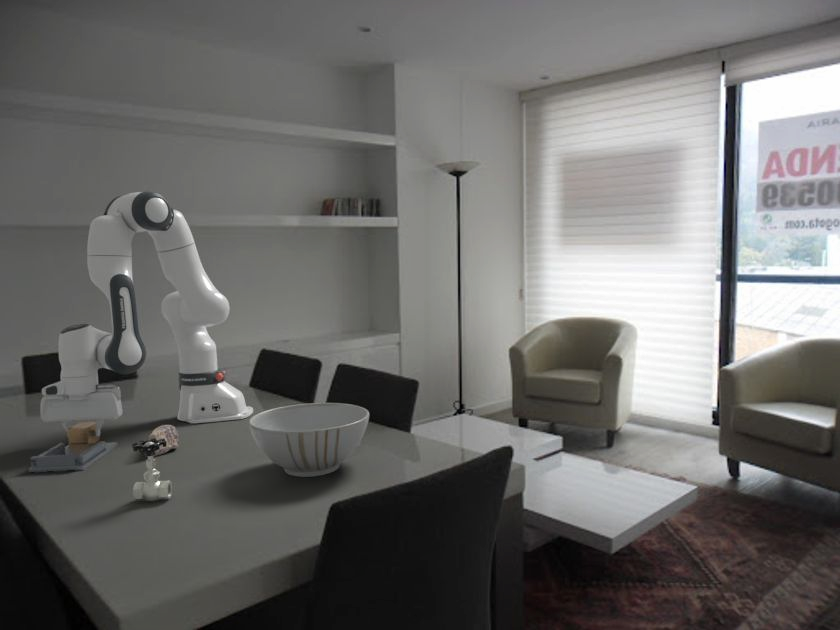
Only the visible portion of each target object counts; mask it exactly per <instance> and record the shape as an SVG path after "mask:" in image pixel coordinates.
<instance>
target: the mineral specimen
mask: <svg viewBox="0 0 840 630" xmlns="http://www.w3.org/2000/svg"><path fill="white" fill-rule="evenodd" d="M148 437H149V438H148V439H149V440H151V439H152V438H157V440H159V439H163V438H164V439H165V441H166V442H167V446H166V447H163V445H161V446H160V449H159V450H157V451H155V453H156V454H155V455H153V458H154V457H156V456H157V457H158V456H160V455H162V454H166V453H167V452H169V451H171V450H176V449H178V447H179V444H178V443H179V433H178V430H176V427H175V425H172V424H162V425H160V426H158V427H156V428H154V430H152V433H150V434H149V436H148ZM154 444H155V443H154Z"/></svg>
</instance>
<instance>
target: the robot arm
mask: <svg viewBox="0 0 840 630" xmlns="http://www.w3.org/2000/svg"><path fill="white" fill-rule="evenodd" d="M145 232H146V233H147V234H149V236H150V237H151V238H152V240H153V244H154V248H155V251H156V254H157V256H158V260H159V263H160V267H161V269H162V272H163V275H164V277H165V279H166V280H167V281H168V282H170V283H171V284H172V286H173V287H174V288H175V290H176V291H173V292H171V293H169V294H167V295H166V296H164V297H163V300H162V301H161V306H160V310H161V311H160V312H161V314H162V316H163V318H164V319H165V320H166V321H167V322H168V324H169V326H170V329H171V331H172V333H173V336H174V339H175V342H176V346H177V353H178V355H177V356H178V364H179V366H178V367H179V372H178V388H179V391H180V395H179V396H180V397H179V407H178V414H177V417H176V419H177V420H179V421H182V422H187V423H189V424H200V423H201V424H203V423H214V422H215V423H216V422H224V421H235V420H236V421H237V420H242V419H246V418H248V417H251V415H252V414H253V413H254V408H253V407H252V406H247V404H246V400H245V396H244V393H242V391H241V390H239V389H238V388H236V387H235V386H233V385H231V384H229V383H228V382H227V381H225V380H226V378H225V377H226V376H225V375H226V374H225V373H226V371H225V370H223V371H222V370H221V369H219V368H218V354H217V353H218V352H217V345H216V343H215V341H214V340H213V338H211V337H210V335H209V332H208V330H207V328H210V327H214V326H217V325H220V324H223V323H224V322H225V321H226V320H227V319H228V317H229V314H230V311H231V310H230V309H231V308H230V303H229V300H228V299H227V297H226V296H225V295H224V294H222V293H221V292H220V291H219V290H218V289H217V287H215V285H214V284H213V282H212V281H211V279H210V277H209V276H208V274H207V273H206V271H205V269H204V267H203V264H202V261H201V258H200V256H199V252H198V249H197V246H196V243H195V238H194V236H193V234H192V230H191V228H190V226H189V224H188V222H187V220H186V219H185V216H184V215H183V213H182V212H181V211H179V210H176V209H174V208H172V207H171V205H170V203H169V201H168V200H167V199H166V198H165V197H164V196H163V195H162V194H160V193H157V192H154V191H149V190H147V191H137V192H130V193H128V194H125V195H120V196H116V197H115V198H113V199H112V200H110V201H109V202H108V204H107V205H106V207H105V210H104V213H103V215H99V216H97V217H96V218H94V219H93V220H92V221H91V222H90V226H89V231H88V237H87V246H86V247H87V249H86V255H87V256H86V257H87V259H86V260H87V270H88V271H87V272H88V275H89V278H90V281H91V282H92V283H93V284H94V286H96V288H98V289H100V291H101V292H102V293H103V294H104V296H106V299H107V301H108V303H109V308H110V317H111V318H110V319H111V320H110V321H111V330H112V333H111V332H108V331H104V330H101V329H99V328H96V327H94V326H92V325H91V324H89V323H80V324H74V325H71V326H67V327H65V328H64V329H62V330H61V331H60V333H59V336H58V362H59V363H60V367H61V371H60V375H59V376H60V377H59V378H60V380H58V381H56V382H54V383H52V384H48V385H46V386H44V387H42V389H41V394H42V396H43V397H42V398H41V400H40V406H39V407H40V409H39V411H40V419H41V420H42V421H43V422H44V423H57V422H58V423H59V422H61V427H63V429H64V430H65V431H66V433H67V434H66V435H67V438H68V429H69V428H71V427H72V426H71V425H70V424H71V423H72V422H79V421H80V422H85V421H86V422H87V421H94V422H95V424H97V427H96V429H94V430H92V436H93V437H94V436H101V429H102V426H103V424H104V423H105V421H104V420H106V421H107V420H117V419H119V418H120V417H122V415H123V413H124V411H123V404H122V400H121V397H122V393H121V388H120V387H119V386H118V385H115V384H114V383H113V384H99V374H98V370H99V369H107V370H111V371H113V372H114V373H118V374H119V375H129V374H133V373H135V372H137V371H138V370H140V368H142V366H143V365H144V363H145V361H146V358H147V350H146V346H145V344H144V342H143V339H142V336H141V335H140V330H139V321H138V310H137V309H138V308H137V300H136V293H135V291H136V290H135V285H134V280H133V279H134V278H133V259H132V258H133V257H132V256H133V255H132V254H133V252H132V242H133V238H134V236H135V235H136V234H139V233H140V234H141V233H145Z"/></svg>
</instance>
